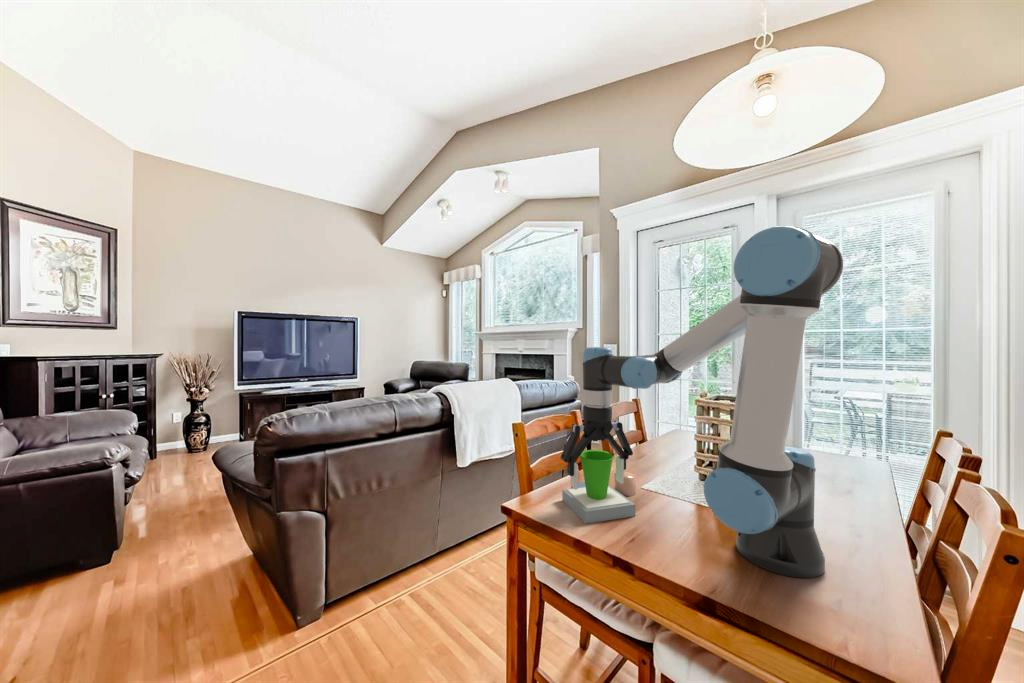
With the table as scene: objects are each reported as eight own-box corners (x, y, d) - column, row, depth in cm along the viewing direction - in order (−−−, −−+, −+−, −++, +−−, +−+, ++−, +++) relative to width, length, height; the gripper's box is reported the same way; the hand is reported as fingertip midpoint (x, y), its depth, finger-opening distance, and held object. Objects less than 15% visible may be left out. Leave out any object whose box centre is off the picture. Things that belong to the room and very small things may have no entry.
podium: (635, 515, 98) (635, 503, 98) (585, 523, 94) (585, 510, 94) (606, 494, 112) (606, 483, 112) (562, 500, 108) (562, 488, 108)
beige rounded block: (640, 494, 111) (640, 477, 111) (621, 497, 110) (621, 480, 110) (628, 487, 117) (628, 470, 117) (610, 489, 116) (610, 472, 115)
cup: (609, 489, 107) (609, 449, 107) (617, 503, 98) (617, 460, 98) (577, 488, 108) (577, 449, 107) (582, 503, 99) (582, 460, 98)
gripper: (630, 400, 110) (629, 474, 110) (548, 405, 103) (548, 484, 103) (646, 405, 103) (646, 484, 103) (559, 410, 95) (559, 495, 96)
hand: (597, 484), depth 103 cm, fingers open, 13 cm apart
